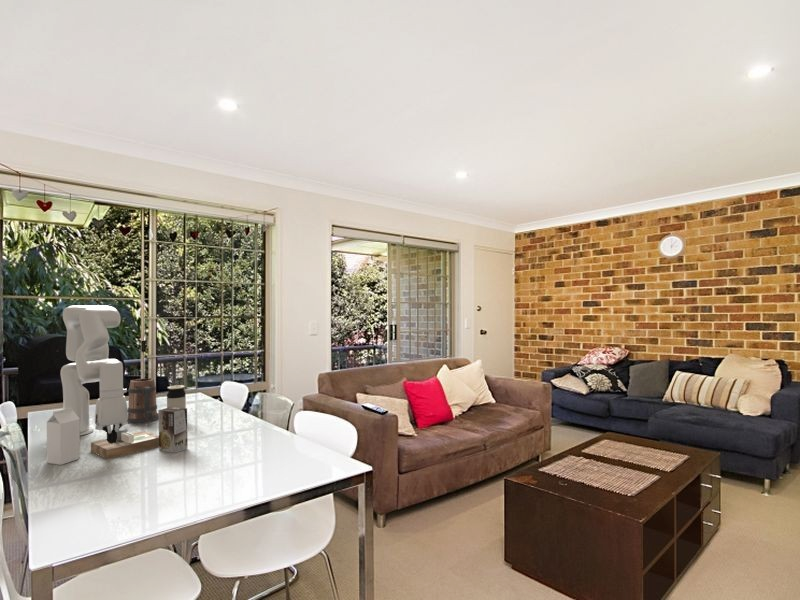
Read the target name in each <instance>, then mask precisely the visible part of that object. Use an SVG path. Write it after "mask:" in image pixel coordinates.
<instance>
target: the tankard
mask: <svg viewBox="0 0 800 600" xmlns="http://www.w3.org/2000/svg"><path fill="white" fill-rule="evenodd" d="M156 390H157V386H156V384H155V379H154V378H153V377H151V378H150V377H149V378H136V379H132V380H131V379H130V382H129V388H128V390H127V392H128V403H127V404H128V405H127V410H128V419H127V421H128V423H127V424H126V425H139V424H148V423H153V422H157V421H159V416H158V412H157V411H158V410H157V409H158V405H157V397H156V396H157V395H156V393H157V391H156Z"/></svg>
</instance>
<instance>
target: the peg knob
mask: <svg viewBox="0 0 800 600" xmlns="http://www.w3.org/2000/svg"><path fill="white" fill-rule="evenodd" d="M128 430H129V429H128V428H120V429H119V431H118V432H117V440H116V441H117V442H120V441H124V442H127V443H133V442H134V434H131V433H132V432H129V431H128Z"/></svg>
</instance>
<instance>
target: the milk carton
mask: <svg viewBox="0 0 800 600" xmlns="http://www.w3.org/2000/svg"><path fill="white" fill-rule="evenodd" d="M80 440H81V438H80V426H79V418H78V416H77V415H76V414H75V412H74V411H73V408H68V409H64V410H63V409H61V410H60V409H59V410H55V411H53V412H52V415H51V416H50V418H49V419H48V420H47V421H46V463H47V464H52V465H58V466H59V465H60V466H61V465H62V466H63V465H65V464H68V463H70V462H74V461H76V460H80V458H81V456H80V455H81V454H80V453H81V450H80V449H81V448H80V447H81V446H80V445H81V444H80V442H81V441H80Z"/></svg>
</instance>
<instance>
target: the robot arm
mask: <svg viewBox="0 0 800 600" xmlns="http://www.w3.org/2000/svg"><path fill="white" fill-rule="evenodd" d="M62 321H63V322H64V325H65V328H66V343H65V355H66V358H67V360H69V361H72V362H71V363H67V364H64V365H63V366H62V367H61V369H60V379H61V385H62V398H63V399H62V400H63V401H62V402H63V403H62V405H63V406H62V407H63V409H62V410H64V409H68V408H73V411H74V412H75V414H76V415H77V416H78V418H79V426H80V436H85V435H88V434H91V433H93V432H94V431H95V430H97V431H104V432H105V433H106V439H107V442H108V443H110V444H113V443H116V440H117V432H118V431H119V429H122V427H123V426H125V425H128V424H127V423H128V421H127V419H128V405H127V404H128V403H127V399H126V396H125V395H124V394H125V393H127V392H128V390H127V388H124V366H123V362H122V361H120V360H119V359H116V358H109V355H110V354H109V353H110V352H109V351H110V348H109V347H110V346H109V344H108V343H109V341H110V334H109V332H108V329H111V328H113V329H114V328H117V327H118V326H120V324H121V314H120V312H119V310H118V309H116V308H115V307H114V306H109V305H70V306H66V307H65V308H64V309H63V311H62ZM96 382H99V398H97V399H96V402H95V403H96V404H95V409H94V419H93V420H94V421H93V422H94V424H95V427H92V426H90V392H89V390H88V389H87V388H86V387H85V386H83V385H84V384H86V383H87V384H88V383H96ZM94 429H95V430H94Z"/></svg>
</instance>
